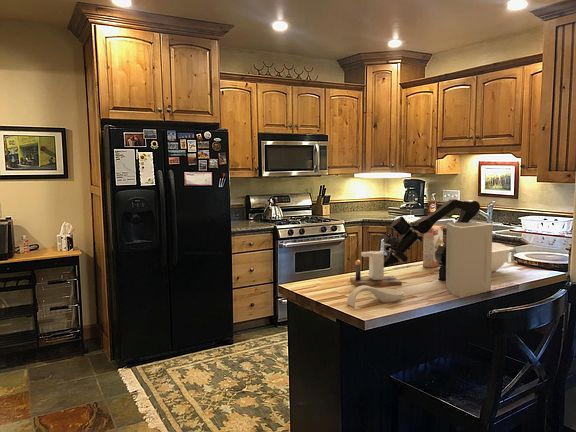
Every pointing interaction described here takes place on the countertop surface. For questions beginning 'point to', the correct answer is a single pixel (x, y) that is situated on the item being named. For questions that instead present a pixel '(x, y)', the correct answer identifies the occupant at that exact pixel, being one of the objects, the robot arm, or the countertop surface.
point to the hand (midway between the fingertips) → (382, 266)
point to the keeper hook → (358, 269)
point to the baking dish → (499, 255)
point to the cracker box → (432, 246)
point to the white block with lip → (375, 264)
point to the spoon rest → (376, 294)
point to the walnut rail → (376, 281)
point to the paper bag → (468, 258)
